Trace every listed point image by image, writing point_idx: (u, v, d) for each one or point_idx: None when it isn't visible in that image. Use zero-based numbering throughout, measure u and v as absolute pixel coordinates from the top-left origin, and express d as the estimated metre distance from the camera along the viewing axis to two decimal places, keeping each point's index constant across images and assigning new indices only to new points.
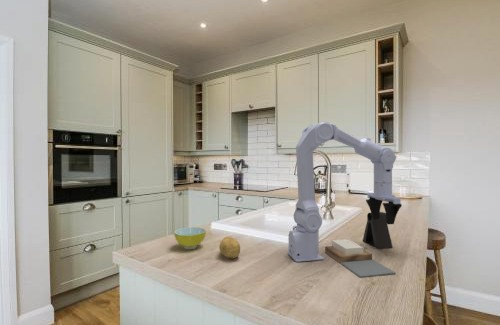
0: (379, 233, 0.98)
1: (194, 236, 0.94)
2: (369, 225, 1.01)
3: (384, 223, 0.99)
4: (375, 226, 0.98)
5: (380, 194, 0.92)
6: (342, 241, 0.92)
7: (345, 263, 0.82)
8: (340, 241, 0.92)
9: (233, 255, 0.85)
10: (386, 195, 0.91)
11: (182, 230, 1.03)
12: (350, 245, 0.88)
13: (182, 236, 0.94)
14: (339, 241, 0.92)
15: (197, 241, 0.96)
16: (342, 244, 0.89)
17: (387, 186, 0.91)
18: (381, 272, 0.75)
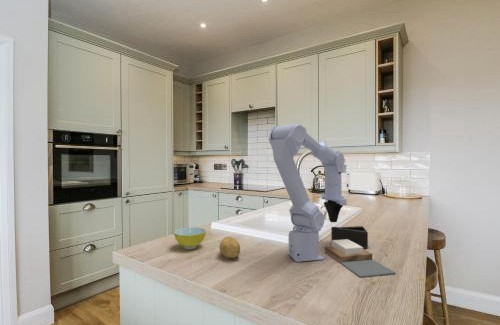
0: (352, 241, 0.99)
1: (194, 236, 0.94)
2: None
3: (342, 232, 1.00)
4: None
5: (329, 196, 0.96)
6: (342, 241, 0.92)
7: (345, 263, 0.82)
8: (340, 241, 0.92)
9: (233, 255, 0.85)
10: (335, 196, 0.95)
11: (182, 230, 1.03)
12: (350, 245, 0.88)
13: (182, 236, 0.94)
14: (339, 241, 0.92)
15: (197, 241, 0.96)
16: (342, 244, 0.89)
17: (336, 188, 0.95)
18: (381, 272, 0.75)
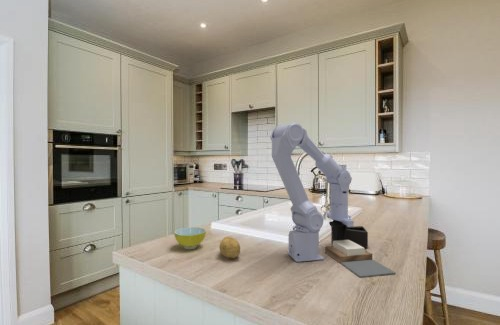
0: (352, 241, 0.99)
1: (194, 236, 0.94)
2: None
3: None
4: None
5: (335, 216, 0.92)
6: (343, 242, 0.91)
7: (345, 263, 0.82)
8: (341, 242, 0.91)
9: (233, 255, 0.85)
10: (341, 217, 0.91)
11: (182, 230, 1.03)
12: (351, 246, 0.87)
13: (182, 236, 0.94)
14: (340, 242, 0.91)
15: (197, 241, 0.96)
16: (343, 245, 0.88)
17: (342, 208, 0.91)
18: (381, 272, 0.75)
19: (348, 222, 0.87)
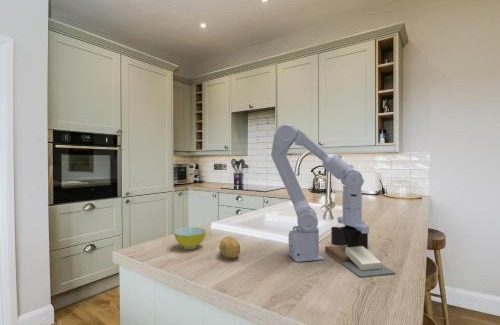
0: None
1: (194, 236, 0.94)
2: None
3: (342, 232, 1.00)
4: (344, 243, 1.00)
5: (348, 221, 0.84)
6: (357, 250, 0.83)
7: (345, 263, 0.82)
8: (355, 250, 0.83)
9: (233, 255, 0.85)
10: (355, 222, 0.83)
11: (182, 230, 1.03)
12: (367, 258, 0.79)
13: (182, 236, 0.94)
14: (354, 250, 0.83)
15: (197, 241, 0.96)
16: (358, 255, 0.80)
17: (356, 212, 0.83)
18: (381, 272, 0.75)
19: (363, 228, 0.79)
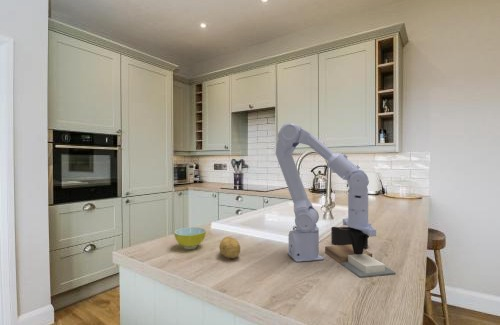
0: None
1: (194, 236, 0.94)
2: None
3: (342, 232, 1.00)
4: (344, 243, 1.00)
5: (354, 223, 0.81)
6: (360, 256, 0.82)
7: (345, 263, 0.82)
8: (357, 256, 0.82)
9: (233, 255, 0.85)
10: (361, 225, 0.80)
11: (182, 230, 1.03)
12: (370, 262, 0.78)
13: (182, 236, 0.94)
14: (356, 256, 0.82)
15: (197, 241, 0.96)
16: (360, 260, 0.79)
17: (362, 215, 0.80)
18: (381, 272, 0.75)
19: (370, 231, 0.76)
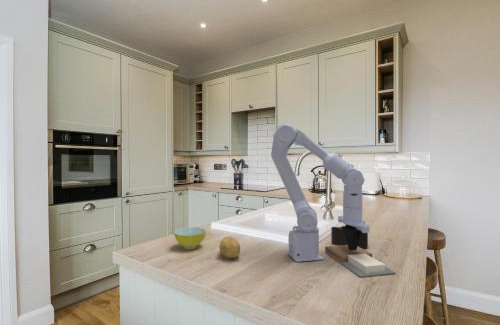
0: None
1: (194, 236, 0.94)
2: None
3: (342, 232, 1.00)
4: (344, 243, 1.00)
5: (349, 220, 0.84)
6: (360, 256, 0.82)
7: (345, 263, 0.82)
8: (357, 256, 0.82)
9: (233, 255, 0.85)
10: (355, 222, 0.83)
11: (182, 230, 1.03)
12: (370, 262, 0.78)
13: (182, 236, 0.94)
14: (356, 256, 0.82)
15: (197, 241, 0.96)
16: (360, 260, 0.79)
17: (356, 212, 0.83)
18: (381, 272, 0.75)
19: (364, 228, 0.79)
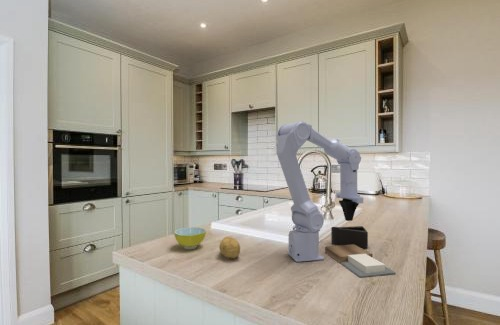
0: (352, 241, 0.99)
1: (194, 236, 0.94)
2: None
3: (342, 232, 1.00)
4: (344, 243, 1.00)
5: (345, 194, 0.95)
6: (360, 256, 0.82)
7: (345, 263, 0.82)
8: (357, 256, 0.82)
9: (233, 255, 0.85)
10: (351, 195, 0.94)
11: (182, 230, 1.03)
12: (370, 262, 0.78)
13: (182, 236, 0.94)
14: (356, 256, 0.82)
15: (197, 241, 0.96)
16: (360, 260, 0.79)
17: (352, 186, 0.94)
18: (381, 272, 0.75)
19: (358, 199, 0.90)
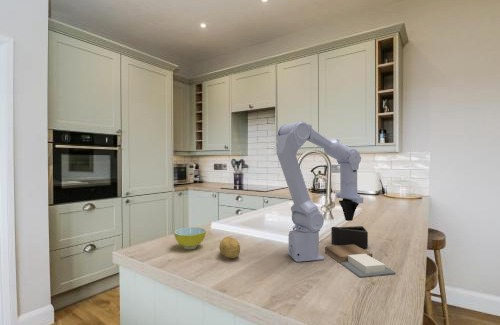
0: (352, 241, 0.99)
1: (194, 236, 0.94)
2: None
3: (342, 232, 1.00)
4: (344, 243, 1.00)
5: (345, 194, 0.95)
6: (360, 256, 0.82)
7: (345, 263, 0.82)
8: (357, 256, 0.82)
9: (233, 255, 0.85)
10: (351, 195, 0.94)
11: (182, 230, 1.03)
12: (370, 262, 0.78)
13: (182, 236, 0.94)
14: (356, 256, 0.82)
15: (197, 241, 0.96)
16: (360, 260, 0.79)
17: (352, 186, 0.94)
18: (381, 272, 0.75)
19: (358, 199, 0.90)
